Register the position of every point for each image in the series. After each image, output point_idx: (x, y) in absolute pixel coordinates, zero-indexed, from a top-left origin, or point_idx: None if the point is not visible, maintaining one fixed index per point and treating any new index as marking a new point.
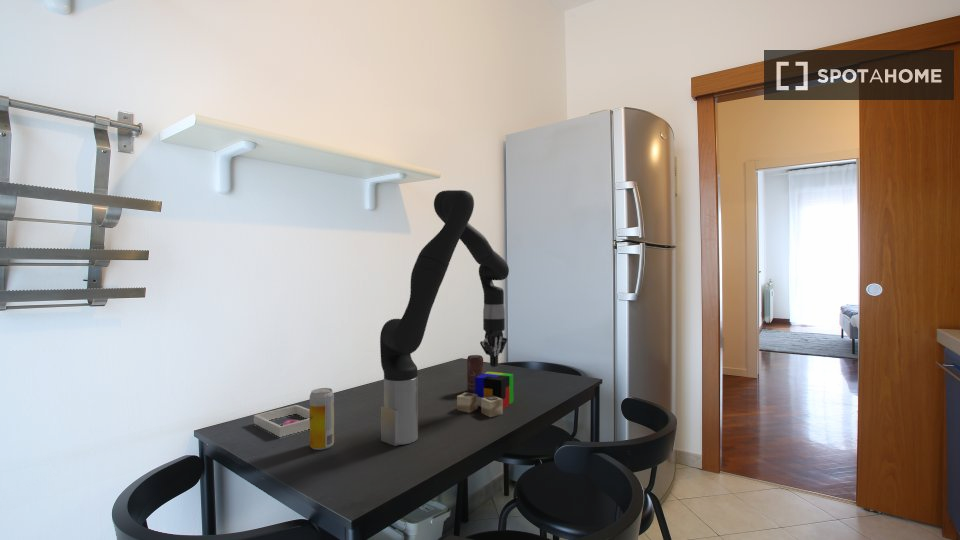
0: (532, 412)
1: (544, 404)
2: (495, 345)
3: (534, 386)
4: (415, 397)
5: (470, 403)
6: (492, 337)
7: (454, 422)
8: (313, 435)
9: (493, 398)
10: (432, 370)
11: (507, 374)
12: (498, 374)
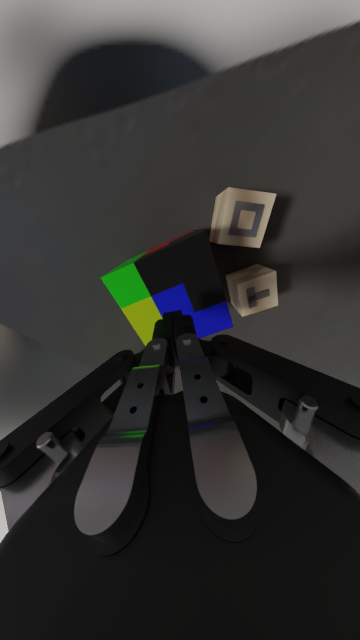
0: (141, 137)
1: (60, 176)
2: (206, 383)
3: (8, 322)
4: None
5: (265, 268)
6: (278, 509)
7: (327, 234)
8: None
9: (247, 211)
10: None
11: (123, 288)
12: (150, 308)
